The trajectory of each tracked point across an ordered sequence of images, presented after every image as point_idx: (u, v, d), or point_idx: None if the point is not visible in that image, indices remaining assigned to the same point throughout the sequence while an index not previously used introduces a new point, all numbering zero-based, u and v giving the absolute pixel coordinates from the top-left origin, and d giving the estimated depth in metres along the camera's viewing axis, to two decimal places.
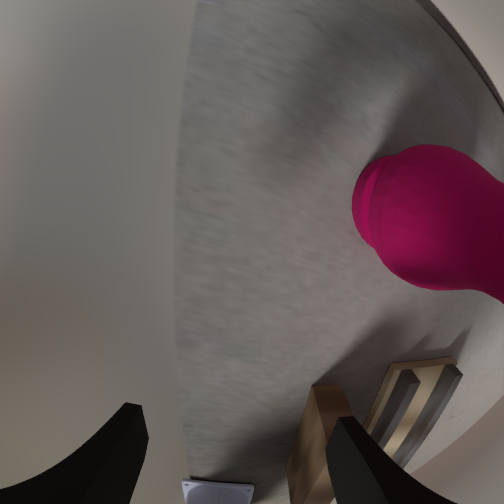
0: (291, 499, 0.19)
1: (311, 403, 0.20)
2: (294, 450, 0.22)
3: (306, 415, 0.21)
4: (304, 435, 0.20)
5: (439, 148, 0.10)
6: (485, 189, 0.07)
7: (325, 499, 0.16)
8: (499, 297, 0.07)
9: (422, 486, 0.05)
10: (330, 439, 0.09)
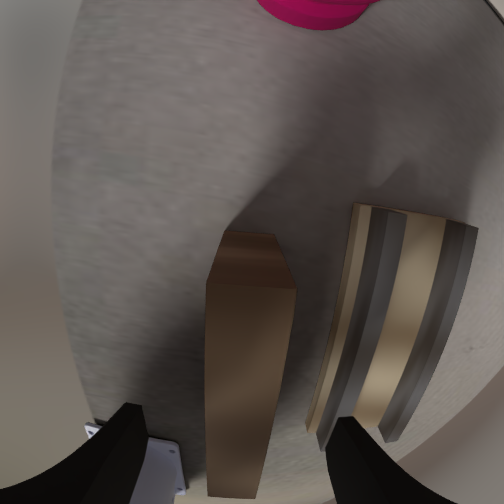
0: None
1: None
2: None
3: None
4: None
5: None
6: None
7: (249, 454, 0.10)
8: None
9: (422, 486, 0.05)
10: (330, 439, 0.09)
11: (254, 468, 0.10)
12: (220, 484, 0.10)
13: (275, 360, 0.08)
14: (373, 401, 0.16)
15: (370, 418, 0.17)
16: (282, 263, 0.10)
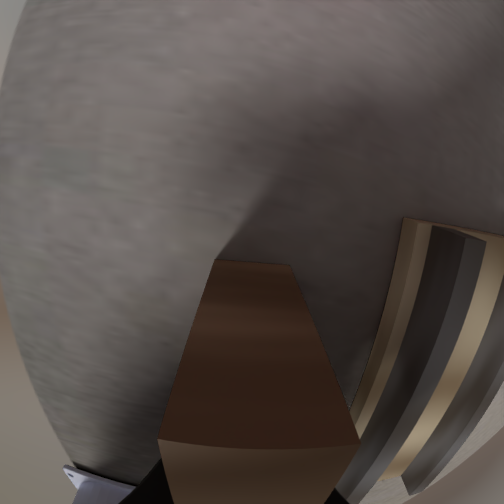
0: None
1: None
2: None
3: None
4: None
5: None
6: None
7: None
8: None
9: None
10: None
11: None
12: None
13: None
14: (400, 455, 0.12)
15: (394, 470, 0.12)
16: (316, 348, 0.05)
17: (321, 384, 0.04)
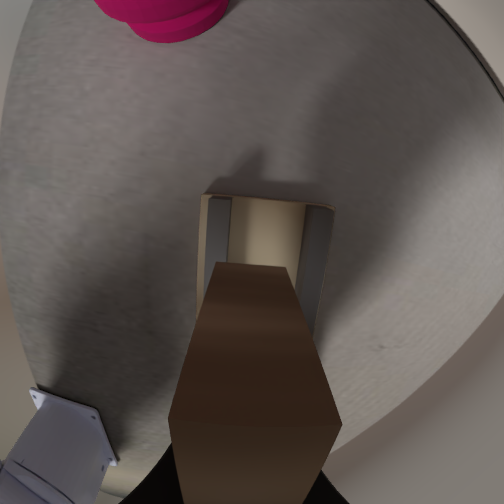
0: None
1: None
2: None
3: None
4: None
5: None
6: None
7: None
8: None
9: None
10: None
11: None
12: None
13: (291, 496, 0.04)
14: None
15: None
16: (307, 343, 0.06)
17: (309, 374, 0.05)
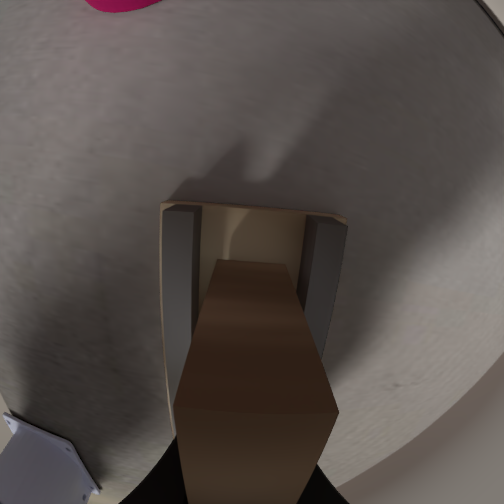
0: None
1: None
2: None
3: None
4: None
5: None
6: None
7: None
8: None
9: None
10: None
11: None
12: None
13: (291, 485, 0.04)
14: None
15: None
16: (305, 336, 0.06)
17: (308, 365, 0.05)
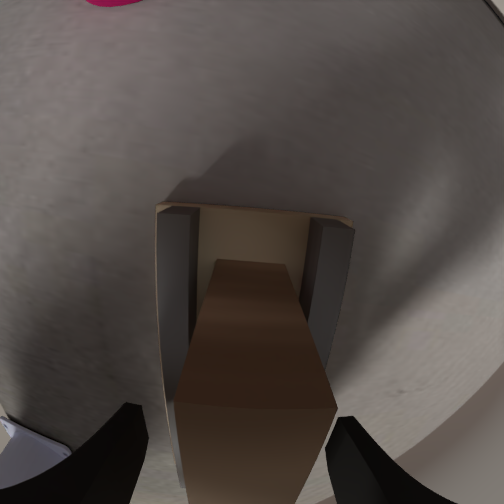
0: None
1: None
2: None
3: None
4: None
5: None
6: None
7: None
8: None
9: (422, 486, 0.05)
10: (330, 439, 0.09)
11: None
12: None
13: (291, 482, 0.04)
14: None
15: None
16: (304, 333, 0.06)
17: (307, 362, 0.05)
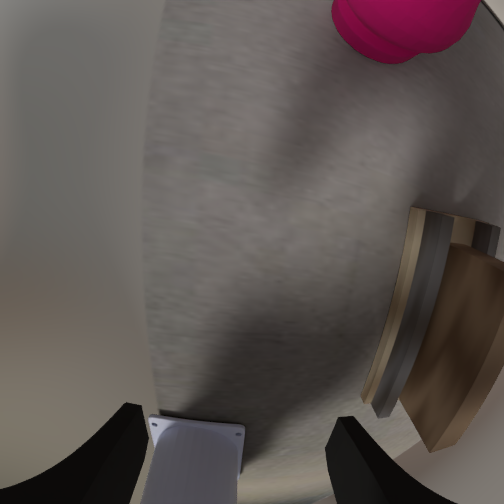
0: (420, 425, 0.15)
1: (447, 261, 0.15)
2: None
3: None
4: (440, 313, 0.15)
5: None
6: None
7: (481, 397, 0.11)
8: None
9: (422, 486, 0.05)
10: (330, 439, 0.09)
11: (475, 410, 0.12)
12: (447, 435, 0.12)
13: None
14: None
15: None
16: None
17: None
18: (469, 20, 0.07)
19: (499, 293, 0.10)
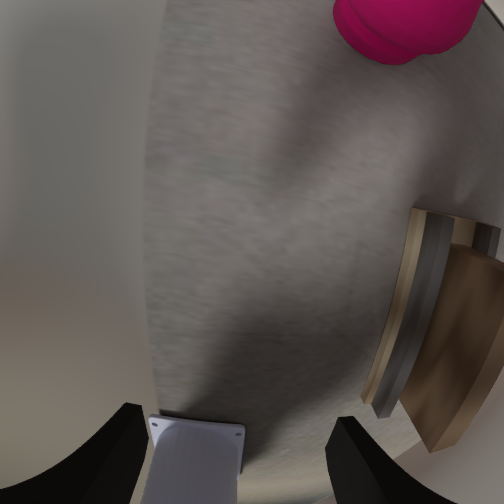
0: (421, 425, 0.15)
1: (448, 262, 0.15)
2: None
3: None
4: (441, 314, 0.15)
5: None
6: None
7: (481, 397, 0.11)
8: None
9: (422, 486, 0.05)
10: (330, 439, 0.09)
11: (475, 410, 0.12)
12: (447, 435, 0.12)
13: None
14: None
15: None
16: None
17: None
18: (470, 22, 0.07)
19: (499, 294, 0.10)
